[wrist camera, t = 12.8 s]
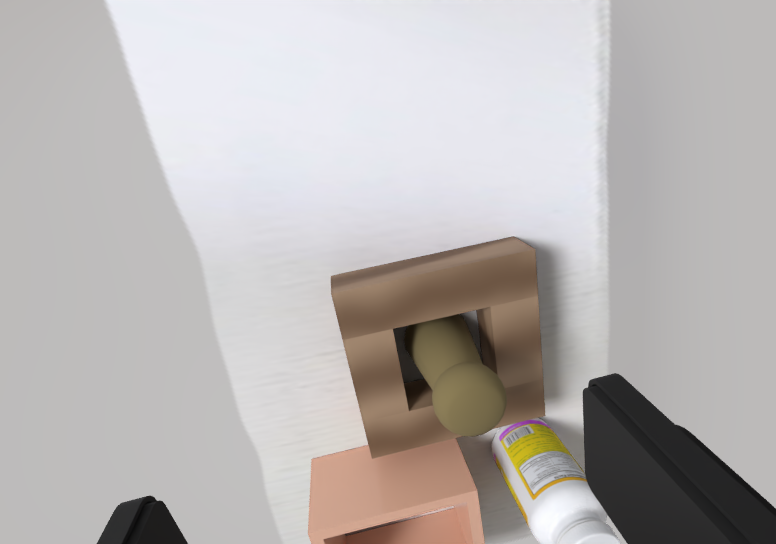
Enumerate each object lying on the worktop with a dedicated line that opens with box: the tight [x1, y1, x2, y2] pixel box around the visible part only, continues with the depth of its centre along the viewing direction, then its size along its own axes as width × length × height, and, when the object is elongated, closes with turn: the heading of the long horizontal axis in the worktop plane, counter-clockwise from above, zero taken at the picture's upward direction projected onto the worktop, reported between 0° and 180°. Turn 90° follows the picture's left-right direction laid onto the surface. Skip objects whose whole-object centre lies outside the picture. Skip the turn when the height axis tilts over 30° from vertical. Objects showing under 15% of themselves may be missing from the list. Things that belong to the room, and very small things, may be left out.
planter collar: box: [308, 438, 485, 544], centre depth 40 cm, size 12×14×8 cm
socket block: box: [331, 237, 545, 459], centre depth 37 cm, size 16×16×4 cm
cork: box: [404, 314, 507, 437], centre depth 33 cm, size 6×6×11 cm
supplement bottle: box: [492, 418, 621, 544], centre depth 38 cm, size 7×7×13 cm
